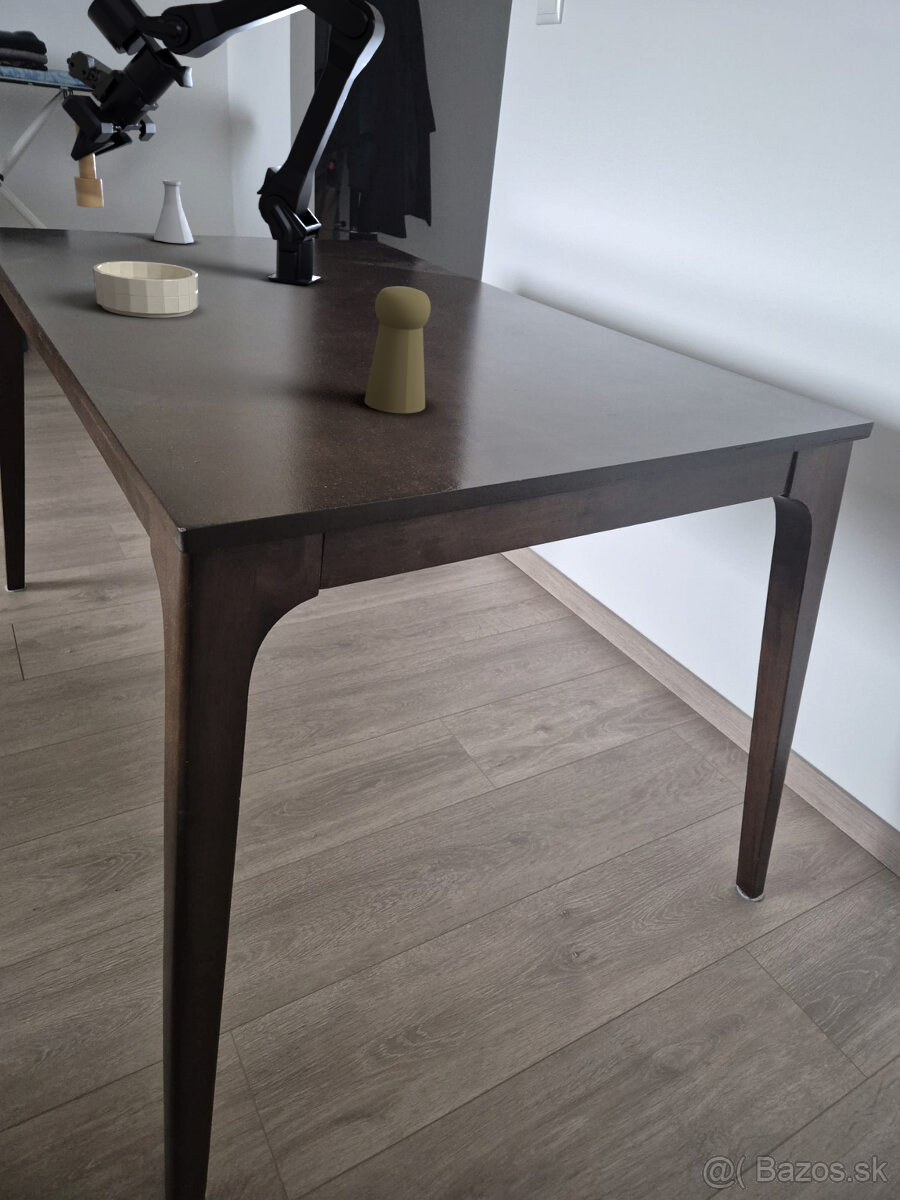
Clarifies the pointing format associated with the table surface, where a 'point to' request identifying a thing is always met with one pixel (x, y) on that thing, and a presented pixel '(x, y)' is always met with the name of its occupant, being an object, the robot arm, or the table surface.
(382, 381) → the cork
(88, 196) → the pestle
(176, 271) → the bowl
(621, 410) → the table surface
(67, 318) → the table surface
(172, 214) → the flask
